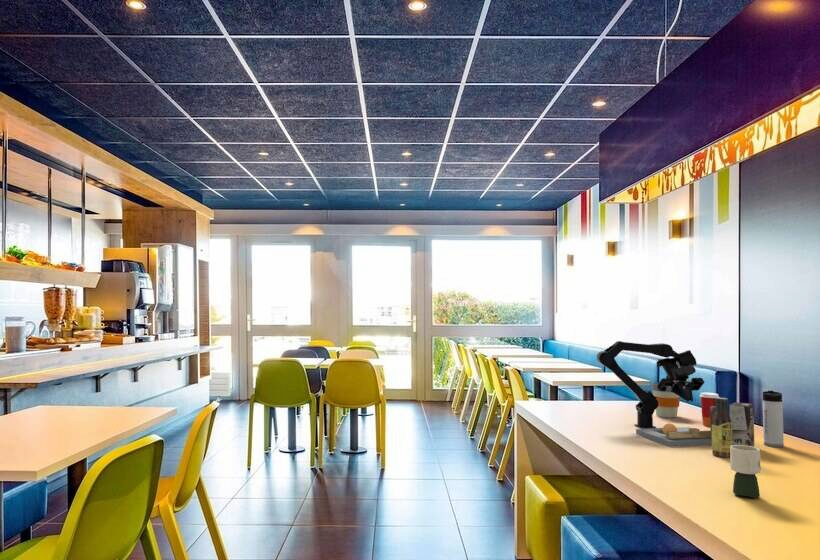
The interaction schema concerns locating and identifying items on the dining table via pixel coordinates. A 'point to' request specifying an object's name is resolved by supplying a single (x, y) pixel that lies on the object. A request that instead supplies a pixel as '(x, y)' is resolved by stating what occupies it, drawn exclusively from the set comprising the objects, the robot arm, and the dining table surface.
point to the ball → (669, 428)
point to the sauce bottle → (721, 429)
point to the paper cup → (707, 406)
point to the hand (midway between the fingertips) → (690, 401)
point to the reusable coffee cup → (666, 401)
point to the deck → (660, 437)
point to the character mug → (745, 469)
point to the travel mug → (773, 419)
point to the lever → (694, 430)
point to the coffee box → (742, 424)
